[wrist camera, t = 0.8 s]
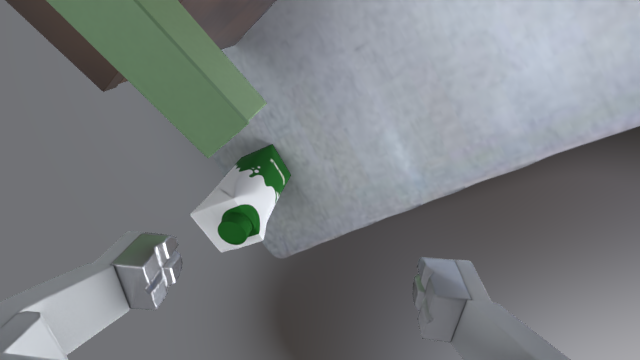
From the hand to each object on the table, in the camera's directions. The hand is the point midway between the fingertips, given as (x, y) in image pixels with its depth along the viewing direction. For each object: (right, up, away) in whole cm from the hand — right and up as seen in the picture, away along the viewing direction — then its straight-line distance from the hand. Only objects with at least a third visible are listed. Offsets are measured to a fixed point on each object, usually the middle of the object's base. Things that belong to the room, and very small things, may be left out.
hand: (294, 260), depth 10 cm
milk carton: (-9, +5, +47) cm, 48 cm away
